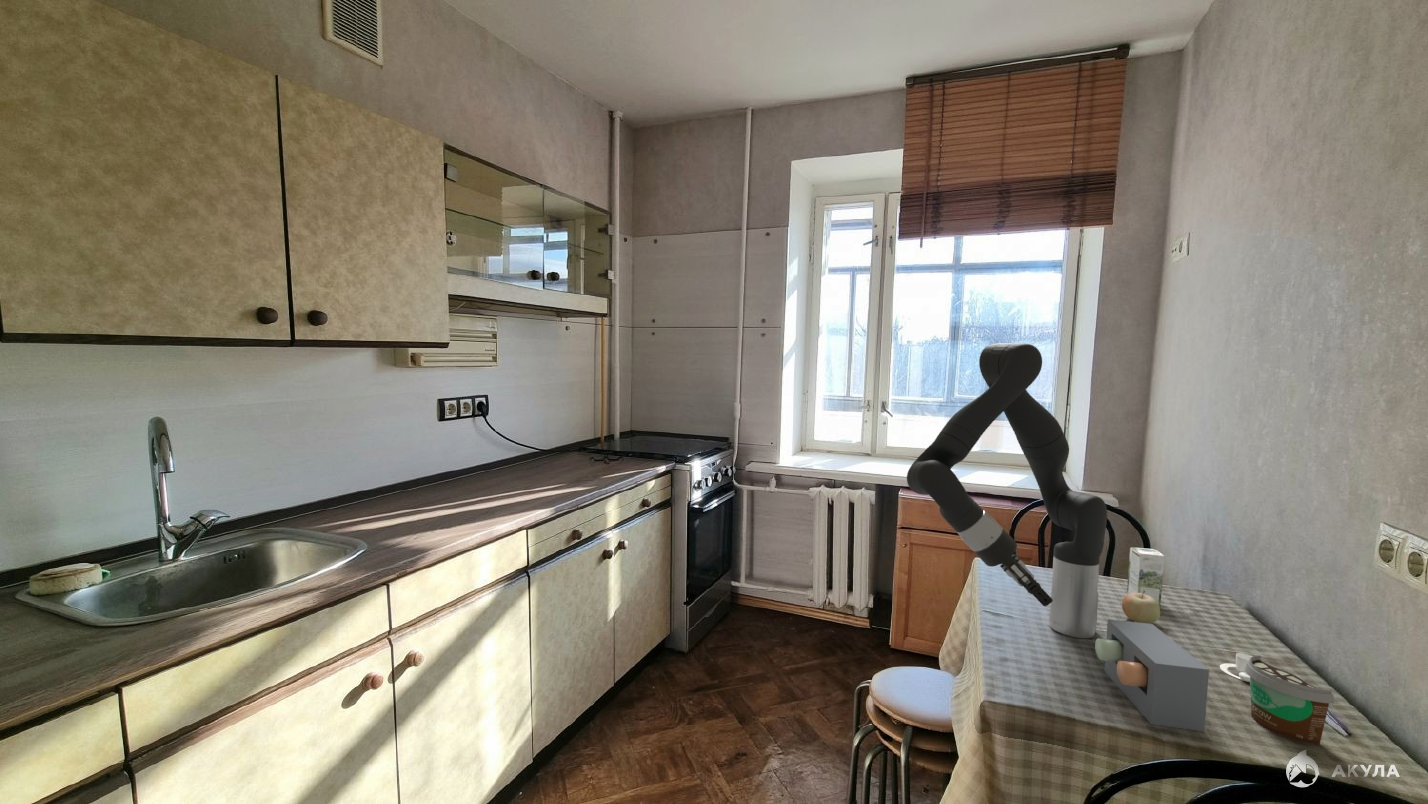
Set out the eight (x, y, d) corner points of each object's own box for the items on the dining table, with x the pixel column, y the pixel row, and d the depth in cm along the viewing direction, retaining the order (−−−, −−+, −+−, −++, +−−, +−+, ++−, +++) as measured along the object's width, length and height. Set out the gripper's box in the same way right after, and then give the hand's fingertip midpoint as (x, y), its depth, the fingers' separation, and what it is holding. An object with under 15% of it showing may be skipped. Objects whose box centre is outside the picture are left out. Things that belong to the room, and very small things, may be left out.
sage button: (1103, 663, 110) (1105, 643, 110) (1094, 653, 114) (1095, 634, 114) (1126, 666, 110) (1128, 646, 109) (1116, 656, 113) (1118, 637, 113)
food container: (1222, 706, 105) (1226, 654, 104) (1252, 705, 105) (1257, 653, 105) (1296, 751, 92) (1301, 692, 92) (1330, 749, 93) (1335, 691, 92)
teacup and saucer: (1263, 691, 111) (1265, 671, 111) (1211, 672, 118) (1213, 653, 117) (1277, 679, 115) (1279, 660, 115) (1227, 662, 122) (1228, 643, 122)
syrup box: (1149, 599, 155) (1153, 548, 154) (1161, 608, 149) (1165, 554, 148) (1125, 597, 156) (1129, 546, 155) (1136, 606, 150) (1140, 552, 149)
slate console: (1151, 724, 99) (1155, 663, 98) (1104, 671, 116) (1107, 619, 116) (1204, 731, 97) (1209, 669, 96) (1148, 676, 115) (1152, 623, 114)
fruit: (1147, 616, 144) (1149, 585, 143) (1165, 629, 137) (1167, 597, 136) (1114, 613, 145) (1116, 583, 145) (1130, 626, 138) (1132, 594, 137)
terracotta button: (1126, 688, 102) (1128, 667, 101) (1116, 677, 106) (1117, 656, 105) (1152, 692, 101) (1153, 670, 101) (1140, 680, 105) (1141, 659, 104)
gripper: (1009, 534, 109) (1076, 604, 107) (991, 517, 122) (1051, 579, 120) (978, 559, 110) (1044, 628, 108) (964, 539, 123) (1022, 600, 121)
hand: (1047, 602), depth 114 cm, fingers closed
